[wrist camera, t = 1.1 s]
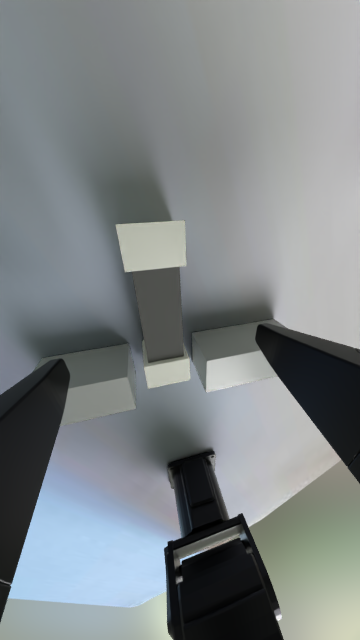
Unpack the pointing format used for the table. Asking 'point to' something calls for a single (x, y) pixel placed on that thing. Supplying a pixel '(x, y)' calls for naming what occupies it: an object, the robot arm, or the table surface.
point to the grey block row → (120, 377)
